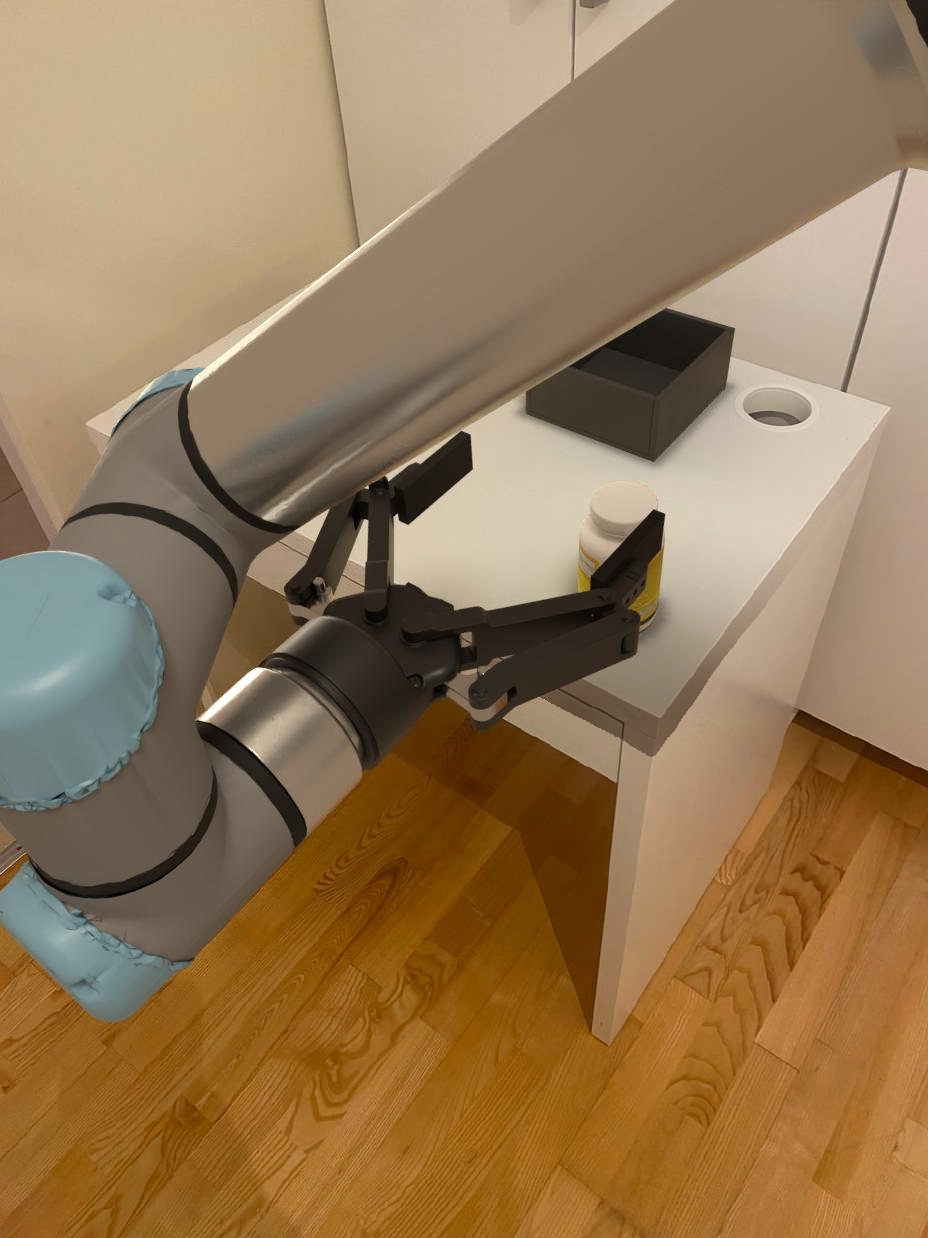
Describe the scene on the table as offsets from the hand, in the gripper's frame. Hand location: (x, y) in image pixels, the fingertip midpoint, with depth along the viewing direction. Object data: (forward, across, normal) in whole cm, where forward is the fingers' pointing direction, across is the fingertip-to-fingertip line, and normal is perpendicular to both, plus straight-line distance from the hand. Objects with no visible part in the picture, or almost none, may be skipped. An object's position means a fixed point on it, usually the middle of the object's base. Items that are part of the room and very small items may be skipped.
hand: (557, 487), depth 57 cm
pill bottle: (+9, 0, -18) cm, 20 cm away
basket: (+34, -14, -18) cm, 41 cm away
